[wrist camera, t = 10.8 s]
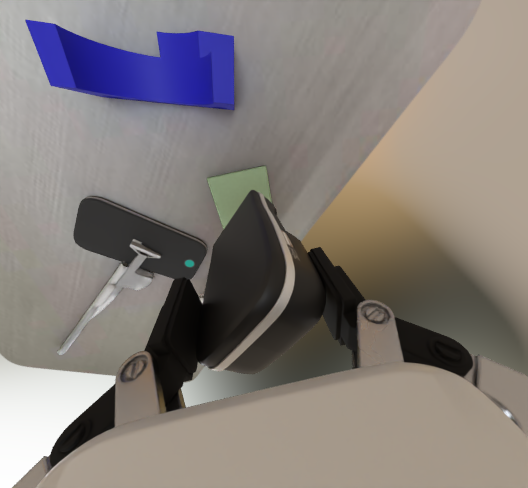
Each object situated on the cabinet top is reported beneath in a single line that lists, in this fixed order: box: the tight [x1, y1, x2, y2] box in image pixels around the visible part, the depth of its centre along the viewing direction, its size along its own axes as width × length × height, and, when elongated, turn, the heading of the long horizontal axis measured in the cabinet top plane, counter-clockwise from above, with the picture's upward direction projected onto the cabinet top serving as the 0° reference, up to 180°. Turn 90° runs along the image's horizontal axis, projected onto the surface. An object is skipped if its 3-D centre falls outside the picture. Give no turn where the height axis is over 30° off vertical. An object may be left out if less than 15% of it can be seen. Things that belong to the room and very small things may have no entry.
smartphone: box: [74, 197, 207, 280], centre depth 25 cm, size 8×1×15 cm
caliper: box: [58, 239, 161, 355], centre depth 30 cm, size 29×2×5 cm
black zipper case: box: [196, 190, 326, 374], centre depth 13 cm, size 7×4×11 cm, turn 144°
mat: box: [207, 166, 272, 229], centre depth 24 cm, size 7×7×1 cm
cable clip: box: [25, 20, 234, 110], centre depth 15 cm, size 12×4×6 cm, turn 86°
